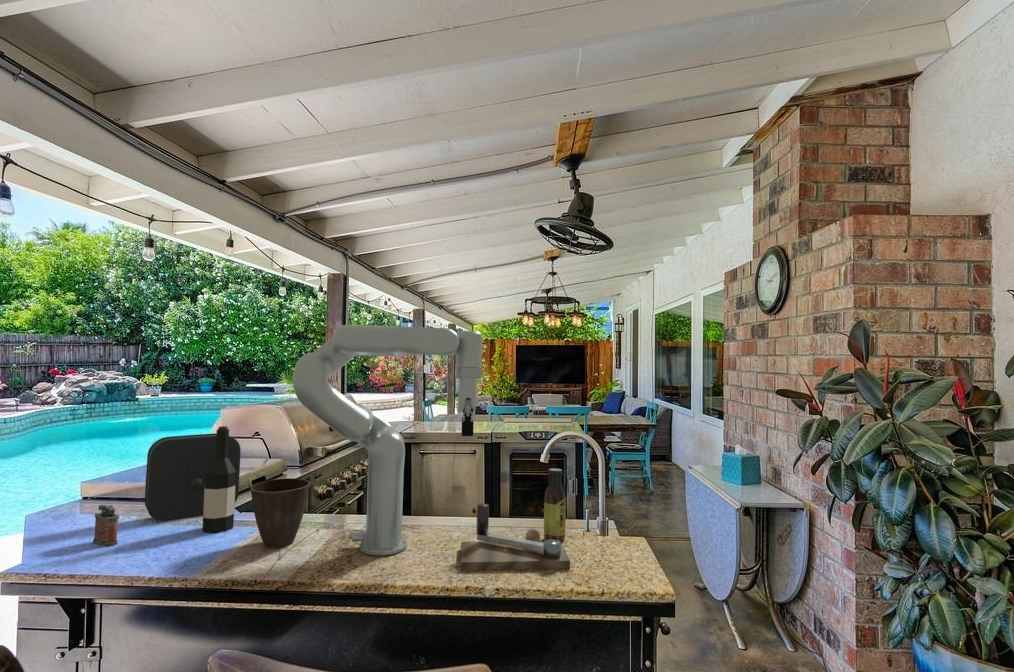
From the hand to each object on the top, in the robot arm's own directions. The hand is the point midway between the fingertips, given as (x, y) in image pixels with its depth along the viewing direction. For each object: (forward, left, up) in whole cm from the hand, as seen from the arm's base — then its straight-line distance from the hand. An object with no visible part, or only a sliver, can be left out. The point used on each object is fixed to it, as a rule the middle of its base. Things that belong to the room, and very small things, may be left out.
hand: (467, 433), depth 143 cm
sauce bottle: (+26, +1, -31) cm, 40 cm away
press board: (+12, -13, -30) cm, 35 cm away
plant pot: (-51, 0, -31) cm, 59 cm away
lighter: (-97, +2, -31) cm, 102 cm away
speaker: (-88, +27, -31) cm, 97 cm away
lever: (+14, -12, -28) cm, 33 cm away
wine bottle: (-73, +13, -31) cm, 80 cm away
